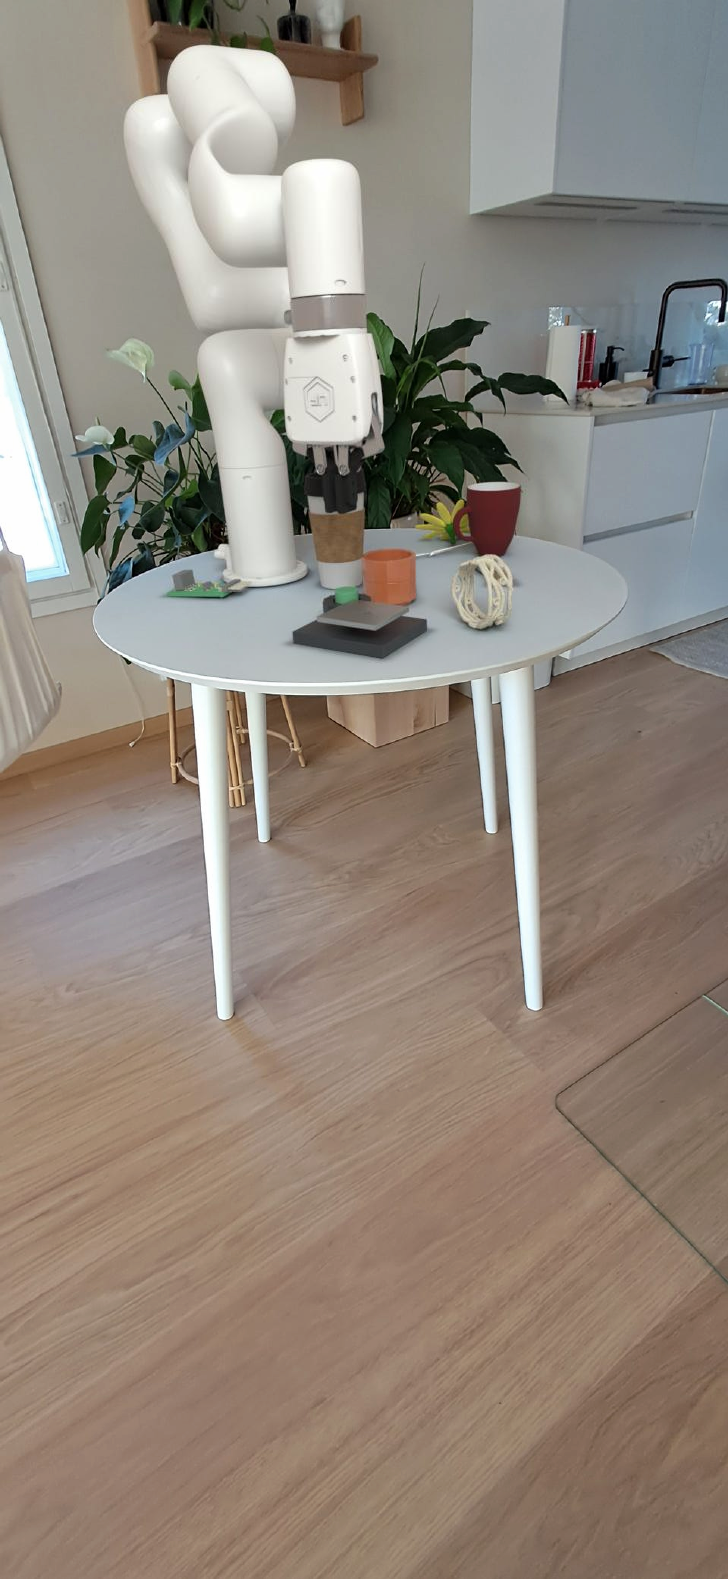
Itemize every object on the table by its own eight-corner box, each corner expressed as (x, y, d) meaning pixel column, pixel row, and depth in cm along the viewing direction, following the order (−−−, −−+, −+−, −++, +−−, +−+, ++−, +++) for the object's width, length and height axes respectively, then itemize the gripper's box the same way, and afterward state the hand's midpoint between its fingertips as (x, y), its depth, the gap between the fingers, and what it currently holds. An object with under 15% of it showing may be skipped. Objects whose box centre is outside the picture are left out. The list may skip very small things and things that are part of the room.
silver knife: (477, 542, 124) (370, 563, 118) (477, 536, 123) (369, 556, 118) (490, 549, 121) (380, 570, 115) (490, 542, 120) (380, 563, 115)
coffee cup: (364, 592, 104) (358, 474, 96) (305, 591, 105) (294, 476, 98) (376, 575, 111) (371, 465, 103) (320, 575, 113) (311, 466, 105)
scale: (287, 642, 87) (284, 616, 86) (341, 614, 95) (340, 590, 94) (382, 658, 81) (381, 631, 80) (432, 627, 89) (432, 602, 88)
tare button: (330, 604, 90) (329, 591, 90) (343, 598, 92) (342, 585, 92) (350, 607, 89) (349, 593, 88) (363, 600, 91) (362, 587, 90)
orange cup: (354, 606, 98) (351, 559, 95) (381, 592, 103) (379, 546, 100) (399, 612, 95) (398, 563, 92) (425, 597, 100) (425, 550, 97)
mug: (470, 566, 113) (471, 495, 108) (442, 555, 119) (442, 488, 114) (528, 555, 117) (532, 486, 112) (498, 546, 123) (500, 480, 118)
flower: (439, 492, 118) (501, 511, 123) (402, 532, 128) (461, 548, 133) (442, 515, 117) (504, 533, 122) (403, 553, 126) (463, 569, 132)
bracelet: (473, 615, 93) (474, 548, 89) (517, 631, 87) (520, 560, 83) (446, 621, 91) (447, 553, 87) (489, 638, 85) (491, 566, 81)
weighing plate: (316, 622, 84) (316, 616, 83) (352, 604, 89) (352, 599, 88) (375, 630, 80) (375, 625, 80) (409, 611, 85) (409, 606, 85)
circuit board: (253, 567, 106) (235, 576, 102) (257, 589, 107) (239, 599, 103) (182, 568, 110) (163, 577, 106) (187, 589, 111) (168, 599, 107)
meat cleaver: (527, 579, 103) (495, 584, 102) (526, 587, 104) (494, 592, 102) (484, 555, 112) (454, 560, 111) (483, 563, 113) (453, 567, 111)
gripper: (246, 325, 77) (267, 514, 87) (374, 314, 70) (382, 522, 79) (290, 324, 83) (305, 502, 92) (414, 314, 75) (417, 508, 85)
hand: (341, 510), depth 85 cm, fingers closed
